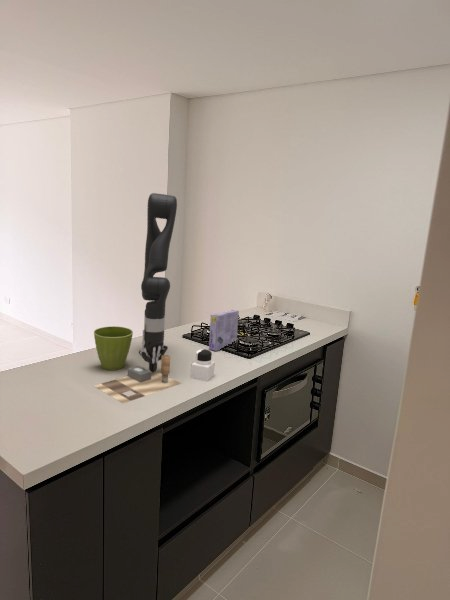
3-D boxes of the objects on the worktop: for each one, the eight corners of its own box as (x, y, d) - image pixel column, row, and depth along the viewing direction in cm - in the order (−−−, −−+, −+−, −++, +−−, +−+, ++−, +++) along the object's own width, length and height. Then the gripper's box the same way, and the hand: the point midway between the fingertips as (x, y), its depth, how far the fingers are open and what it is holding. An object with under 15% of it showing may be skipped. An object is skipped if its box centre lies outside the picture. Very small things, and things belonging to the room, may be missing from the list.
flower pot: (139, 371, 168) (140, 333, 165) (106, 379, 157) (107, 339, 154) (118, 360, 178) (119, 324, 175) (86, 368, 167) (86, 330, 164)
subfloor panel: (93, 389, 148) (93, 385, 148) (151, 372, 167) (151, 369, 167) (122, 407, 137) (122, 403, 136) (181, 386, 156) (181, 383, 156)
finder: (127, 376, 159) (127, 367, 158) (138, 372, 162) (138, 364, 162) (140, 382, 154) (140, 373, 153) (151, 379, 157) (151, 370, 157)
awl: (158, 381, 156) (159, 356, 154) (165, 379, 158) (166, 354, 156) (164, 384, 154) (165, 358, 152) (170, 382, 156) (172, 356, 154)
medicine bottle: (213, 378, 166) (215, 349, 164) (207, 384, 160) (209, 355, 157) (197, 375, 168) (199, 346, 166) (190, 381, 162) (192, 351, 159)
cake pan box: (230, 341, 216) (232, 308, 212) (238, 343, 213) (241, 310, 210) (207, 349, 201) (209, 314, 197) (215, 352, 198) (218, 316, 194)
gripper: (161, 323, 166) (159, 364, 170) (134, 329, 156) (133, 372, 160) (173, 328, 161) (172, 370, 165) (146, 333, 152) (145, 378, 155)
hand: (152, 371), depth 162 cm, fingers closed
